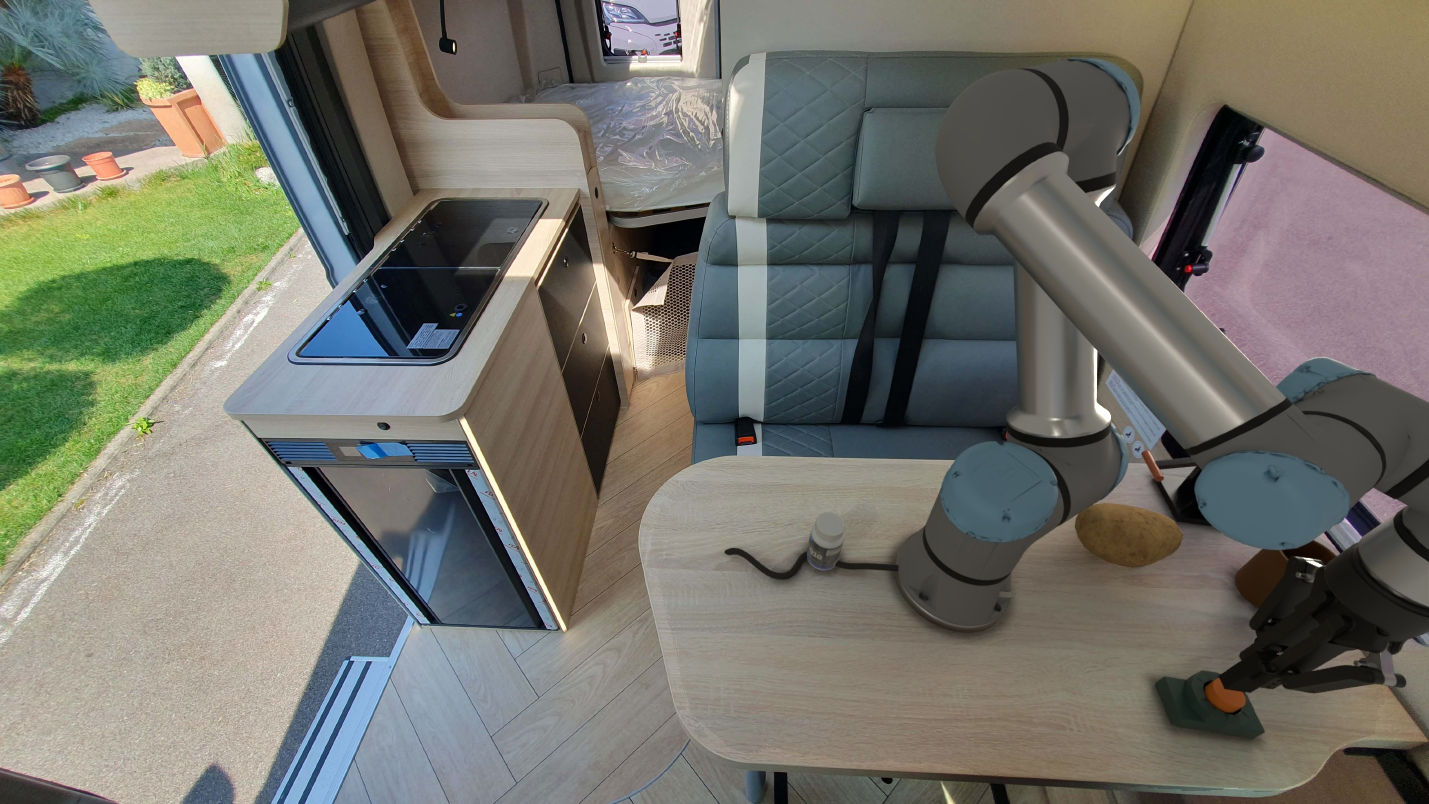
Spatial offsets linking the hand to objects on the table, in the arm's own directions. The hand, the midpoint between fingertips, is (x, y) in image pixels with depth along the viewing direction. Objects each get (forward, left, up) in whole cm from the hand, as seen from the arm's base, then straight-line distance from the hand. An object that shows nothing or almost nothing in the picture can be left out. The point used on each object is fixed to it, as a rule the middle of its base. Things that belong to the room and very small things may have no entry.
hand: (1234, 684), depth 65 cm
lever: (+10, +34, +1) cm, 35 cm away
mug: (+16, +16, -7) cm, 24 cm away
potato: (-3, +22, -7) cm, 23 cm away
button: (0, 0, -3) cm, 3 cm away
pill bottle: (-46, +14, -7) cm, 48 cm away
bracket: (+14, +34, -7) cm, 37 cm away
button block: (0, 0, -7) cm, 7 cm away
